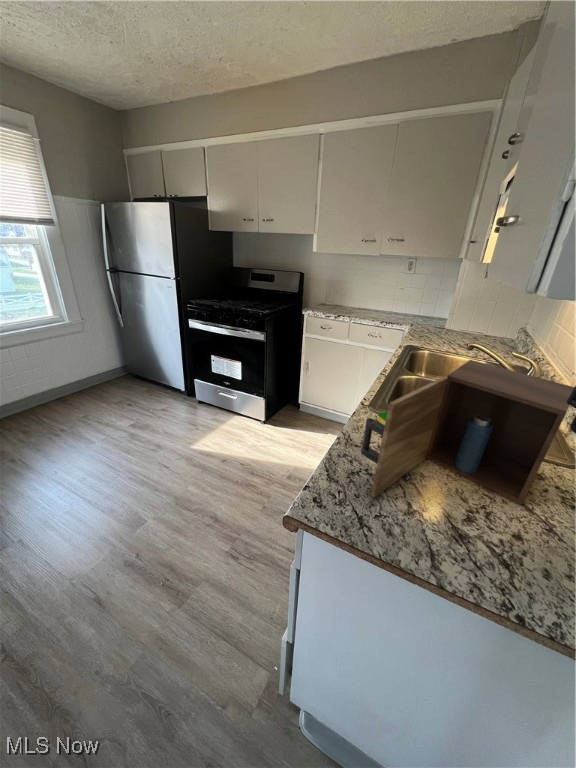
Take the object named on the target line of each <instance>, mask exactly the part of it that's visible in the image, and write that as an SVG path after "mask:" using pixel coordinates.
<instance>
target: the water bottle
mask: <svg viewBox="0 0 576 768" xmlns="http://www.w3.org/2000/svg"><path fill="white" fill-rule="evenodd" d="M490 422H491V419H490V418H489V417H488V416H486V415H482V414H475V416H474V417H473V418H469V420H468V423H467V426H466V428H465V431H464V434H463V437H462V440H461V443H460V446H459V449H458V452H457V455H456V458H455V461H454V465H455V467H456V468H457V469H458V470H460V471H462V472H464V473H468V474H473V473H476V472H477V469H478V467H479V464H480V461H481V459H482V456H483V453H484V451H485V448H486V446H487V443H488V440H489V438H490V435H491V432H492V430H493V424H492V423H490Z"/></svg>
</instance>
